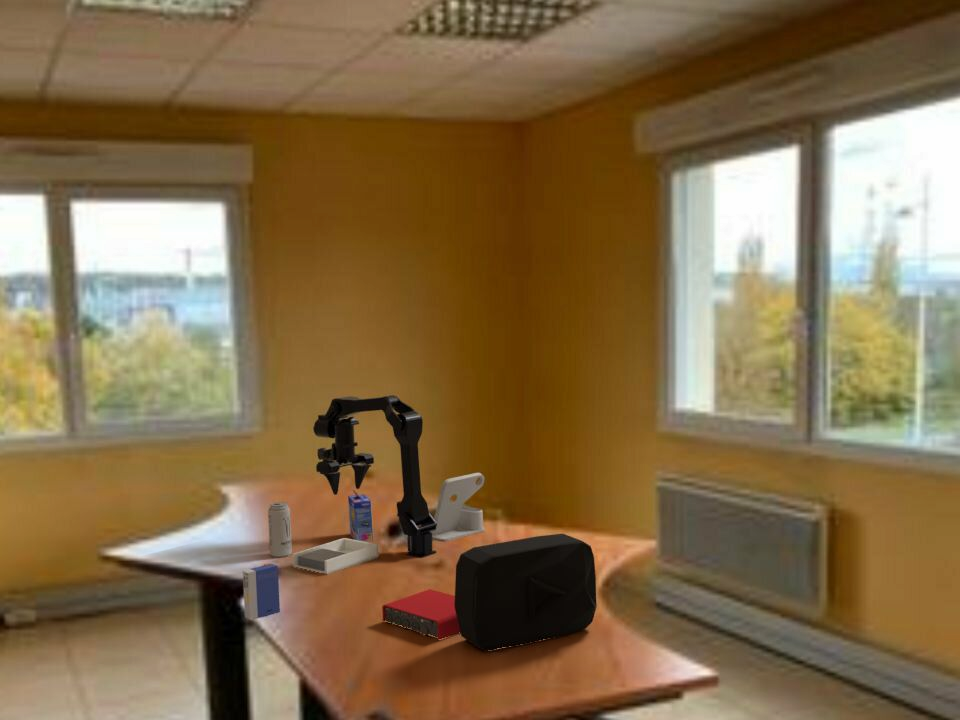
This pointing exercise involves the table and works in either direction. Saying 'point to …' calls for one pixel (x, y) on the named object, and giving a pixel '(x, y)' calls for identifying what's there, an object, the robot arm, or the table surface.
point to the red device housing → (425, 613)
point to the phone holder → (458, 509)
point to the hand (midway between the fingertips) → (346, 491)
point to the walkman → (261, 591)
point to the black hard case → (525, 590)
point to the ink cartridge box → (360, 517)
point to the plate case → (354, 556)
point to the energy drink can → (279, 529)
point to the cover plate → (317, 558)
